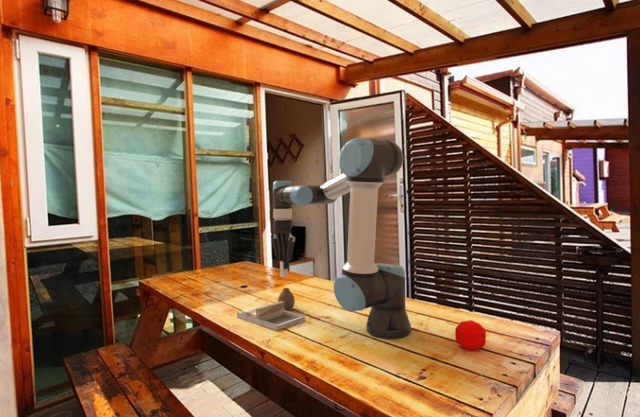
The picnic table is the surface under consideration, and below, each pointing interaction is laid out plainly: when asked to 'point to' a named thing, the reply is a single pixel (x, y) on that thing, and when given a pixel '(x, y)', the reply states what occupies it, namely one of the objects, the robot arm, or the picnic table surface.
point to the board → (275, 320)
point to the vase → (287, 299)
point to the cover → (265, 310)
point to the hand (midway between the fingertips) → (284, 276)
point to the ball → (470, 335)
